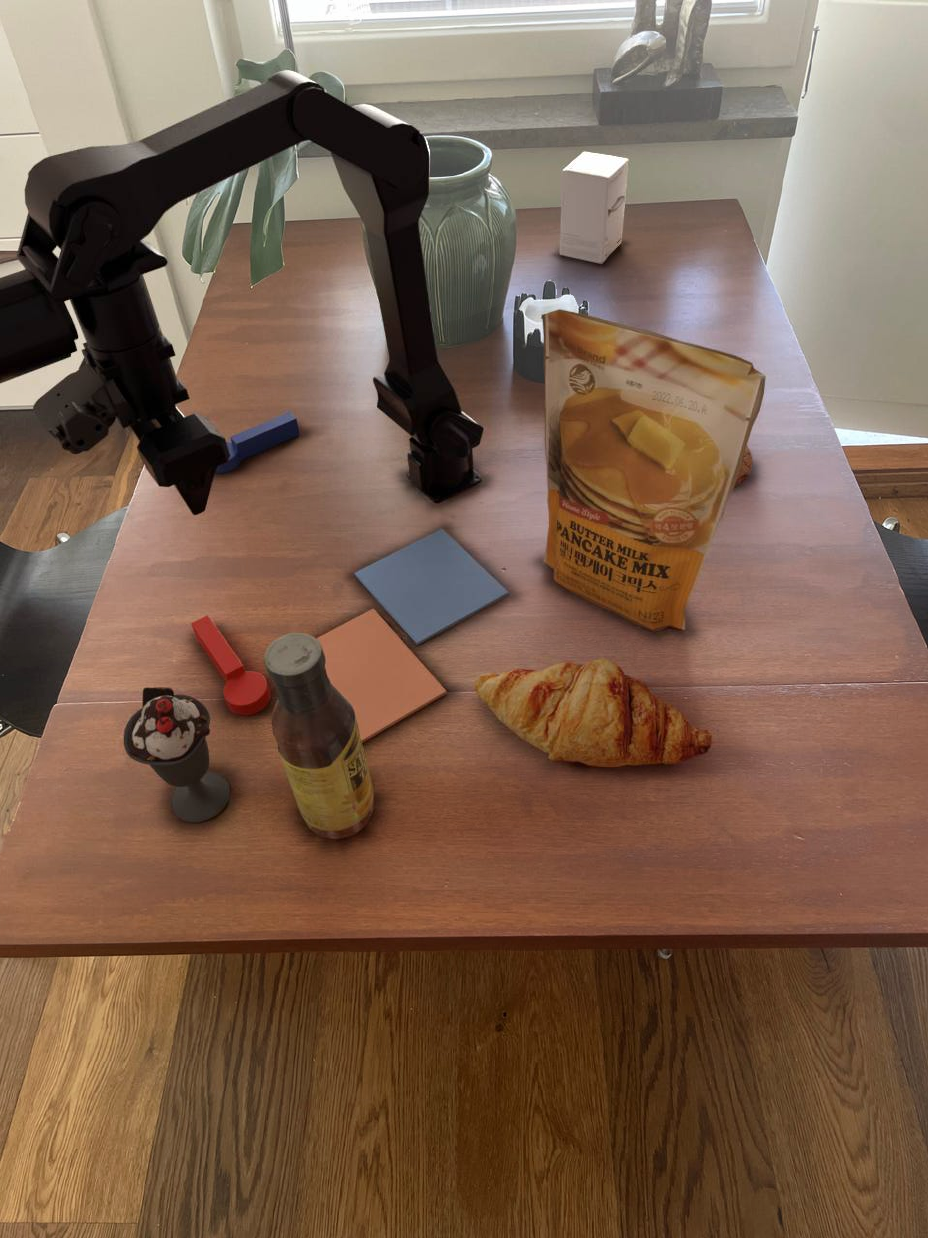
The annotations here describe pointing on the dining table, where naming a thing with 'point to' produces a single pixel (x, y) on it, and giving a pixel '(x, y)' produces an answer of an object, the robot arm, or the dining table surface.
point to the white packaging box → (592, 206)
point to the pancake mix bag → (639, 460)
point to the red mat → (376, 673)
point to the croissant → (591, 715)
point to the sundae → (177, 751)
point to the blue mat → (430, 585)
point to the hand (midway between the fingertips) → (178, 486)
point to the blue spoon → (259, 439)
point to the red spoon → (232, 671)
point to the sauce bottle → (318, 740)
